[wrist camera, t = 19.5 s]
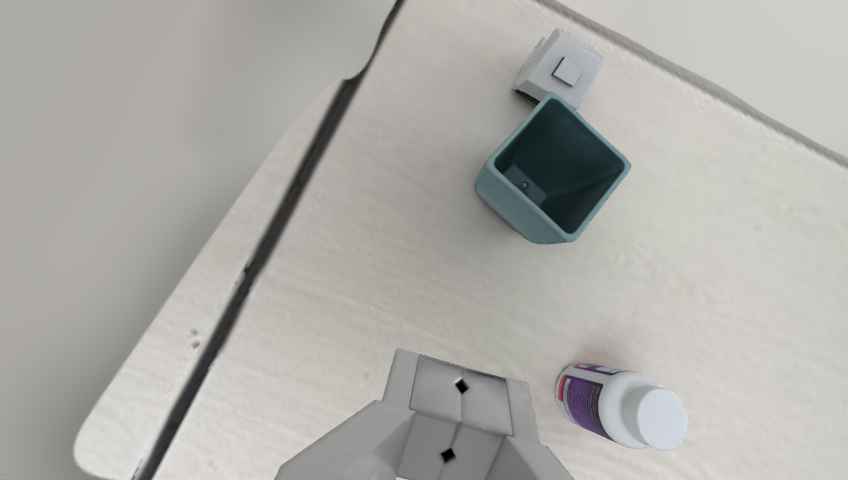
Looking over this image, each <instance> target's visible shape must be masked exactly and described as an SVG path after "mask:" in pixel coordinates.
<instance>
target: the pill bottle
mask: <svg viewBox="0 0 848 480" xmlns="http://www.w3.org/2000/svg"><path fill="white" fill-rule="evenodd" d="M555 395H556V401H557V404H558V407H559V409H560V411H561V412H562V414H563V415H564V416H565V417H566V418H567V419H568V420H569V421H571V422H572V423H574V424H576V425H578V426H580V427H583V428H585V429H587V430H590V431H592V432H594V433H596V434H599V435H601V436H603V437H605V438H607V439H609V440H612V441H614V442H616V443H618V444H620V445H623V446H625V447H628V448H634V449H641V448H645V447H648V446H649V447H651V448H654V449H657V450H660V451H669V450H672V449H674V448H676V447H677V446H679V445H680V444H681V443H682V441H683V440H684V438H685V436H686V433H687V429H688V415H687V412H686V409H685V406H684V404H683V403H682V401H681V400H680V398H679V397H678V396H677V395H676V394H674V393H673V392H671V391H669V390H667V389H663V388H659V387H658V386H657V385H656V384H655V383H654V382H653V381H652V380H651V379H649V378H648V377H646V376H644V375H642V374H640V373H636V372H632V371H627V370H621V369H615V368H610V367H605V366H599V365H593V364H587V363H577V364H573V365H571V366H569V367H567V368H566V369H565V370H564V371H563V372H562V373H561V375H560V377H559V379H558V381H557V384H556V391H555Z"/></svg>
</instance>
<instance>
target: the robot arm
mask: <svg viewBox="0 0 848 480" xmlns="http://www.w3.org/2000/svg"><path fill="white" fill-rule="evenodd" d="M396 477H400V478H404V479H408V480H574V478H573V477H572V476H571V475H570V473H569V472H568V471H567V470H566V468H565V467H564V466H563V465H562V464H561V462H560V461H559V460H558V459H557V457H556V456H555V455H554V454H553V452H552V451H551V450H550V449H549V448H548V447H547V446H544V445H541V444H540V439H539V434H538V429H537V424H536V419H535V414H534V409H533V404H532V399H531V394H530V389H529V385H528V384H527V383H526V382H522V381H518V380H514V379H510V378H506V377H504V378H503V377H499V376H496V375H492V374H488V373H484V372H480V371H477V370H473V369H469V368H465V367H462V366H459V365H455V364H452V363H449V362H445V361H442V360H438V359H435V358H432V357H428V356H425V355H422V354H419V356H418V354H417V353H414V352H410V351H407V350H403V349H400V348H397V349H396V351H395V355H394V358H393V362H392V366H391V369H390V373H389V377H388V380H387V384H386V388H385V391H384V395H383V399H382V401H378V400H374V401H373V402H371V403H370V404H368V405H367V406H365V407H364V408H363V409H361V410H360V411H358V412H357V413H355V414H354V415H353V416H351V417H350V418H348V419H347V420H345V421H344V422H343V423H341V424H340V425H338V426H337V427H335V428H334V429H333V430H331V431H330V432H328V433H327V434H325V435H324V436H323V437H321V438H320V439H318V440H317V441H316V442H314V443H313V444H311V445H310V446H308V447H307V448H306V449H304V450H303V451H301V452H300V453H298V454H297V455H296V456H294V457H293V458H291V459H290V460H288V461H287V462H286V463H284V464H283V465H281V467H280V469H279V471H278V473H277V475H276V477H275V479H274V480H395V479H396ZM0 480H3V479H0Z"/></svg>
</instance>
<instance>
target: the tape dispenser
mask: <svg viewBox="0 0 848 480" xmlns="http://www.w3.org/2000/svg"><path fill="white" fill-rule="evenodd" d="M592 49H593V47H592V46H590V45H588V44H587V43H585V42H583V41H581V40H580V39H578V38H576V37H575V36H573V35H572V34H570V33H569V32H567V31H565V30H564V29H562V30H560V29H556V30H555V31H554V32H553V33H552V35H551V36H550V37H549V39H548V40H547V39H546V38H544V37H542V38H541V40H540V41H539V43H538V44H537V46H536V47H535V49H534V50H533V52H532V54H531V55H530V57H529V58H528V60H527V62H526V63H525V65H524V67H523V68H522V70H521V72H520V74H519V75H518V77H517V79H516V81H515V83H514V84H513V86H512V89H514V90H516V89H517V90H516V91H515V92H518V93H519V94H521V95H523V96H524V97H526V98H528V99H529V100H531V101H533V102H534V103H536V104H539V103H540V102H541V101H542V99H543V98H544V97H545V96H546V95H547V94H548V93H549V92H551V91H552V92H554V93H556V94H557V95H559V96H560V97H561V98H562V99H563V100H564V101H565V102H567V103H568V105H570V106H571V107H572V108H573V109H574V110H575V111H576V110H577V109H578V108H579V106H580V104H581V102H582V100H583V98H584V96H585V94H586V92H587V91H588V89H589V87H590V85H591V84H592V82H593V80H594V78H595V76H596V74H597V72H598V70H599V68H600V66H601V64H602V61H603V56H602V55H600V54H599V53H597V52H596V51H594V50H592Z"/></svg>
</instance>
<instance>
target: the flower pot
mask: <svg viewBox="0 0 848 480" xmlns="http://www.w3.org/2000/svg"><path fill="white" fill-rule="evenodd" d="M630 169H631V164H630V162H629V161H628V160H627V159H626V157H625V156H624V155H622V153H620V152H619V151H618V150H617V149H616V148H615V147H614V146H613V145H611V144H610V143H609V142H608V141H607V140H606V139H605V138H603V136H601V135H600V134H599V133H598V132H597V131H596V130H595V129H594V128H593V127H592V126H590V125H589V124H588V123H587V122H586V121H585V120H584V119H583V118H582V117H581V116H580V115H579V114H578V113H577V112H576V111H575V110H574V109H573V108H572V107H571V106H570V105H568V103H567V102H565V101H564V100H563V99H562V98H561V97H560V96H559V95H557V94H556V93H554V92H552V91H551V92H549V93H548V94H547V95H546V96H545V97H544V98H543V99H542V101H541V102H540V103H539V104H538V105H537V106H536V107H535V108H534V110H533V111H532V112H531V113H530V114H529V115H528V117H527V118H526V119H525V120H524V121H523V122H522V123H521V124H520V125H519V126H518V127H517V128H516V130H515V131H514V132H513V133H512V134H511V135H510V136H509V137H508V138H507V139H506V140H505V141H504V143H503V144H502V145H501V146H500V147H499V148H498V149H497V150H496V151H495V152H494V153H493V154H492V155H491V156H490V157H489V158H488V160H487V161H486V163H485V165H484V166H483V168H482V170H481V172H480V173H479V175H478V177H477V179H476V182H475V191H476V193H477V194H478V196H479V197H480V198H481V199H482V200H483V201H484V202H485V203H487V204H488V205H489V206H490V207H491V208H492V209H493V210H494V211H495V212H496V213H498V214H499V215H500V216H501V217H502V218H503V219H504V220H505V221H506V222H507V223H508V224H510V225H511V226H512V227H513V228H514V229H515V230H516V231H517V232H518V233H519V234H520V235H522V236H523V237H524V238H526V239H527V240H529V241H531V242H533V243H537V244H555V243H566V242H574V241H575V240H576V239H577V238H578V237H579V236H580V234H581V233H582V232H583V230H584V229H585V228H586V226H587V225H588V224H589V222H590V221H591V220H592V218H593V217H594V216H595V214H596V213H597V212H598V211H599V209H600V208H601V206H602V205H603V204H604V203H605V201H606V200H607V199H608V198H609V196H610V195H611V194H612V192H613V191H614V190H615V189H616V187H617V186H618V185H619V183H620V182H621V181H622V180H623V178H624V177H625V176H626V175H627V174H628V172H629V170H630ZM523 183H527V187H526V188H525V187H524V186H523Z"/></svg>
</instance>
